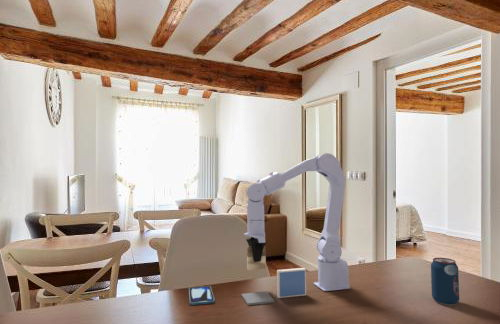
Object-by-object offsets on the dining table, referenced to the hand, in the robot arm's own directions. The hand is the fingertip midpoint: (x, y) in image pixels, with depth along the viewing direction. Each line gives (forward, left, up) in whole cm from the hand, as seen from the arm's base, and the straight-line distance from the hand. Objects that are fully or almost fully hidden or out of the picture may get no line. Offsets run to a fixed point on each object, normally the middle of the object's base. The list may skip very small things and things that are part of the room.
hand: (256, 260), depth 111 cm
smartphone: (+19, +2, -9) cm, 21 cm away
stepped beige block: (0, 0, -3) cm, 3 cm away
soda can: (-49, +27, -9) cm, 57 cm away
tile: (-8, +10, -9) cm, 16 cm away
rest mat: (+3, +10, -9) cm, 13 cm away
